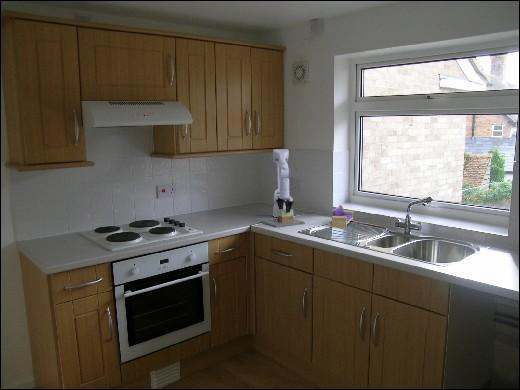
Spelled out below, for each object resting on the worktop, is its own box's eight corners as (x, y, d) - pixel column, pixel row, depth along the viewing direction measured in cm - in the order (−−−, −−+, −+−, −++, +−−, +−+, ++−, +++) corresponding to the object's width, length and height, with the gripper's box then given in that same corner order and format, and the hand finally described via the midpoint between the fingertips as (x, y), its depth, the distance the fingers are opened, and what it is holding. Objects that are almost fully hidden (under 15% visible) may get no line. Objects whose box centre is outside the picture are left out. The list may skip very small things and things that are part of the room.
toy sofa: (346, 228, 259) (346, 210, 258) (331, 227, 262) (331, 210, 261) (353, 221, 278) (353, 205, 277) (339, 220, 281) (339, 204, 280)
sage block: (277, 215, 275) (277, 209, 274) (288, 214, 279) (288, 208, 278) (282, 216, 270) (282, 211, 269) (293, 215, 274) (293, 209, 273)
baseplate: (260, 222, 278) (260, 220, 277) (287, 219, 288) (287, 217, 287) (276, 227, 262) (276, 225, 262) (304, 223, 272) (304, 221, 272)
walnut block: (277, 221, 275) (277, 215, 275) (288, 219, 279) (288, 214, 279) (282, 222, 270) (282, 216, 270) (293, 221, 274) (293, 215, 274)
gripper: (297, 190, 268) (297, 212, 269) (283, 187, 280) (283, 209, 282) (287, 190, 264) (287, 213, 266) (273, 188, 276) (273, 210, 278)
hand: (284, 211), depth 274 cm, fingers open, 7 cm apart
